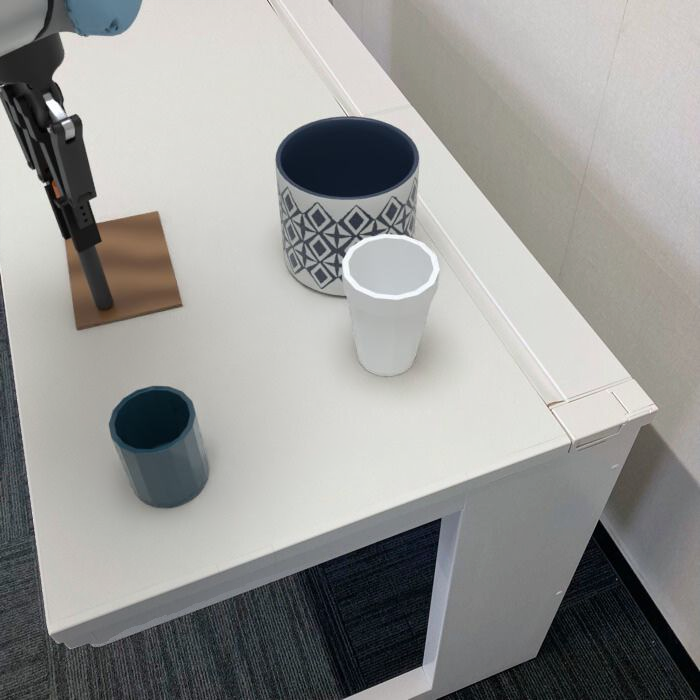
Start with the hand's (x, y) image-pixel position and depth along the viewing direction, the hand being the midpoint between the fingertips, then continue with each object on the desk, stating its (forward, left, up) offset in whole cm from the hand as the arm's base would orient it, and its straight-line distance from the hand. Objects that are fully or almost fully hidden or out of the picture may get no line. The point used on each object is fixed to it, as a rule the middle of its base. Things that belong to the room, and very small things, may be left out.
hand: (82, 238), depth 81 cm
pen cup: (-7, -24, -10) cm, 27 cm away
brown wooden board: (+5, +5, -10) cm, 13 cm away
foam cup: (+19, -27, -11) cm, 35 cm away
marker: (0, 0, -10) cm, 10 cm away
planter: (+27, -12, -11) cm, 31 cm away
